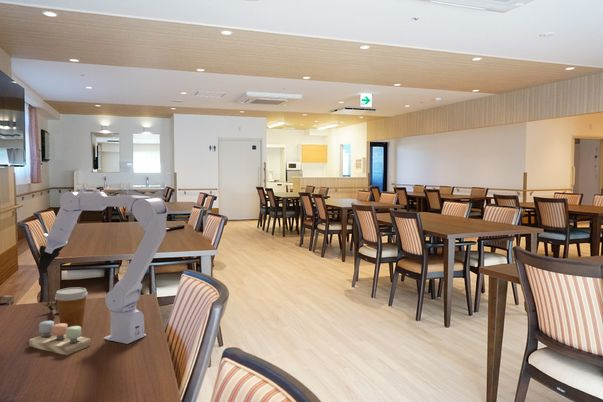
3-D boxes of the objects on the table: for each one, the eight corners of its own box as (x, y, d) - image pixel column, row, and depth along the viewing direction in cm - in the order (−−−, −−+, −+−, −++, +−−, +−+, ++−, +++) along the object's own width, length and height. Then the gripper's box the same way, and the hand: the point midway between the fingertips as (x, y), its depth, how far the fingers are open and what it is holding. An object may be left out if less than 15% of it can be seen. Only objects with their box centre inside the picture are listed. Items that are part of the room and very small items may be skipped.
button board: (90, 345, 131) (90, 338, 131) (66, 355, 124) (66, 347, 123) (54, 337, 137) (54, 331, 137) (29, 346, 130) (29, 339, 129)
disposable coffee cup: (63, 334, 140) (63, 295, 139) (49, 327, 146) (49, 290, 145) (93, 326, 147) (93, 290, 147) (79, 320, 153) (78, 285, 153)
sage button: (84, 341, 129) (84, 327, 129) (72, 346, 125) (72, 331, 125) (74, 339, 130) (74, 325, 130) (63, 344, 127) (62, 329, 127)
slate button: (57, 336, 133) (57, 321, 133) (45, 340, 130) (45, 325, 130) (48, 334, 135) (48, 320, 135) (36, 338, 131) (36, 323, 131)
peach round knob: (70, 338, 131) (70, 324, 131) (58, 343, 128) (58, 328, 127) (61, 337, 133) (61, 322, 132) (49, 341, 129) (49, 326, 129)
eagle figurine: (37, 313, 157) (58, 311, 154) (43, 293, 161) (64, 291, 158) (53, 319, 163) (74, 317, 161) (59, 300, 167) (79, 298, 164)
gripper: (56, 214, 146) (39, 250, 147) (42, 229, 132) (24, 268, 134) (78, 223, 148) (62, 258, 150) (66, 238, 134) (48, 277, 136)
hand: (45, 264), depth 142 cm, fingers open, 7 cm apart
